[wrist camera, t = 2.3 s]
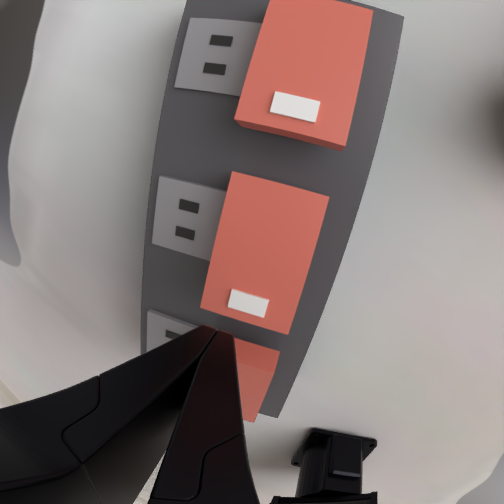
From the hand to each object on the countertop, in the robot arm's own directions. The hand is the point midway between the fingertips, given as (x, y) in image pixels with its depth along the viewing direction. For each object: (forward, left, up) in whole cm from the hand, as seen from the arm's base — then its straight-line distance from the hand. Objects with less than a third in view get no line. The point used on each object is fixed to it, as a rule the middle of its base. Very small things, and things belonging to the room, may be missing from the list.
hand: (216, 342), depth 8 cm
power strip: (+5, +1, -12) cm, 13 cm away
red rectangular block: (-8, 0, -6) cm, 10 cm away
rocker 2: (0, 0, -6) cm, 6 cm away
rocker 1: (+8, 0, -6) cm, 10 cm away
